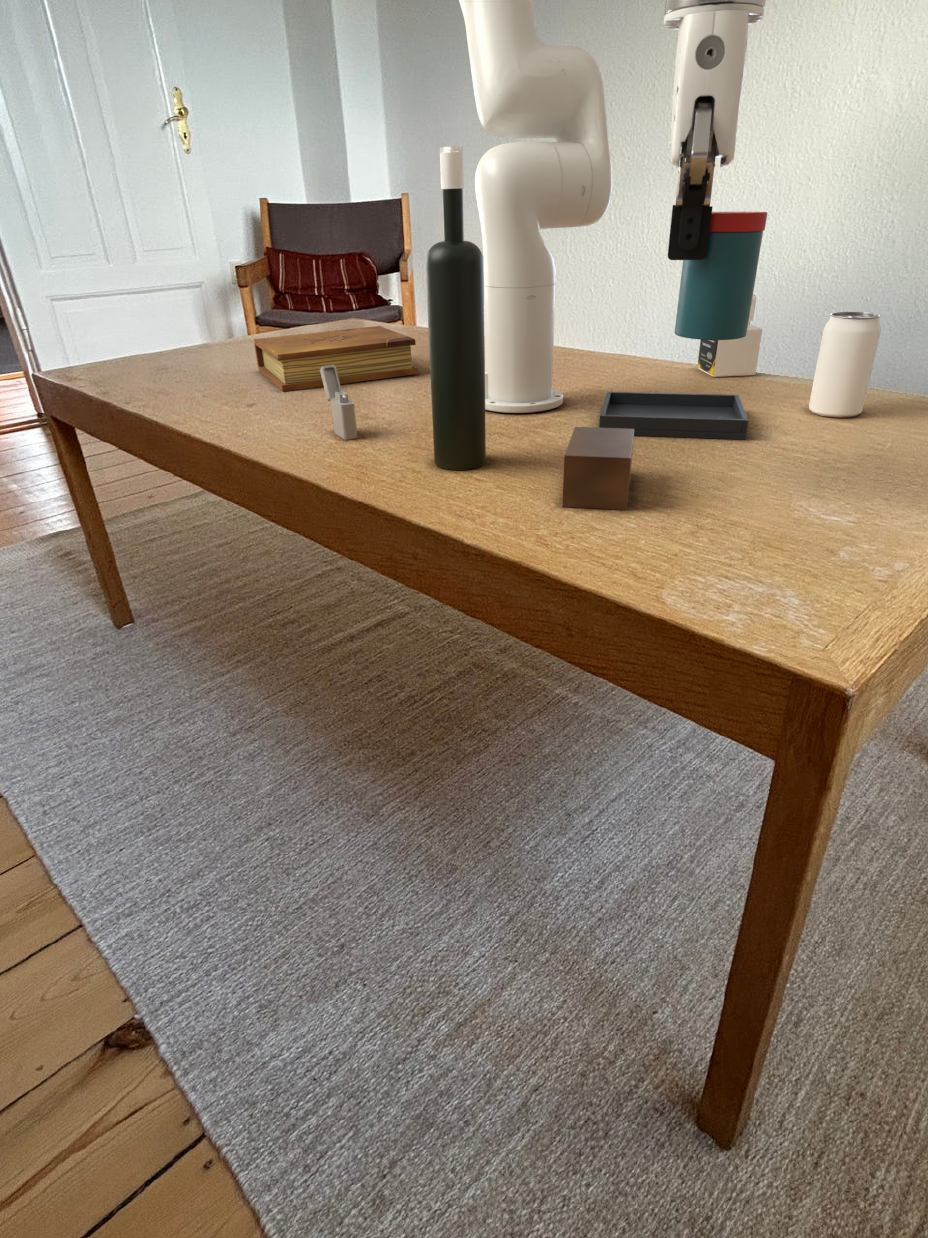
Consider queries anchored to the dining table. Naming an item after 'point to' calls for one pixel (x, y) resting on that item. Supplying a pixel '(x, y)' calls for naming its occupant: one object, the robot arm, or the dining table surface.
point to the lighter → (339, 404)
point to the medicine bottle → (732, 353)
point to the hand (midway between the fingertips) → (686, 254)
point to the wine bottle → (456, 330)
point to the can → (845, 364)
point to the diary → (334, 356)
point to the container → (721, 279)
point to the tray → (675, 414)
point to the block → (598, 468)
